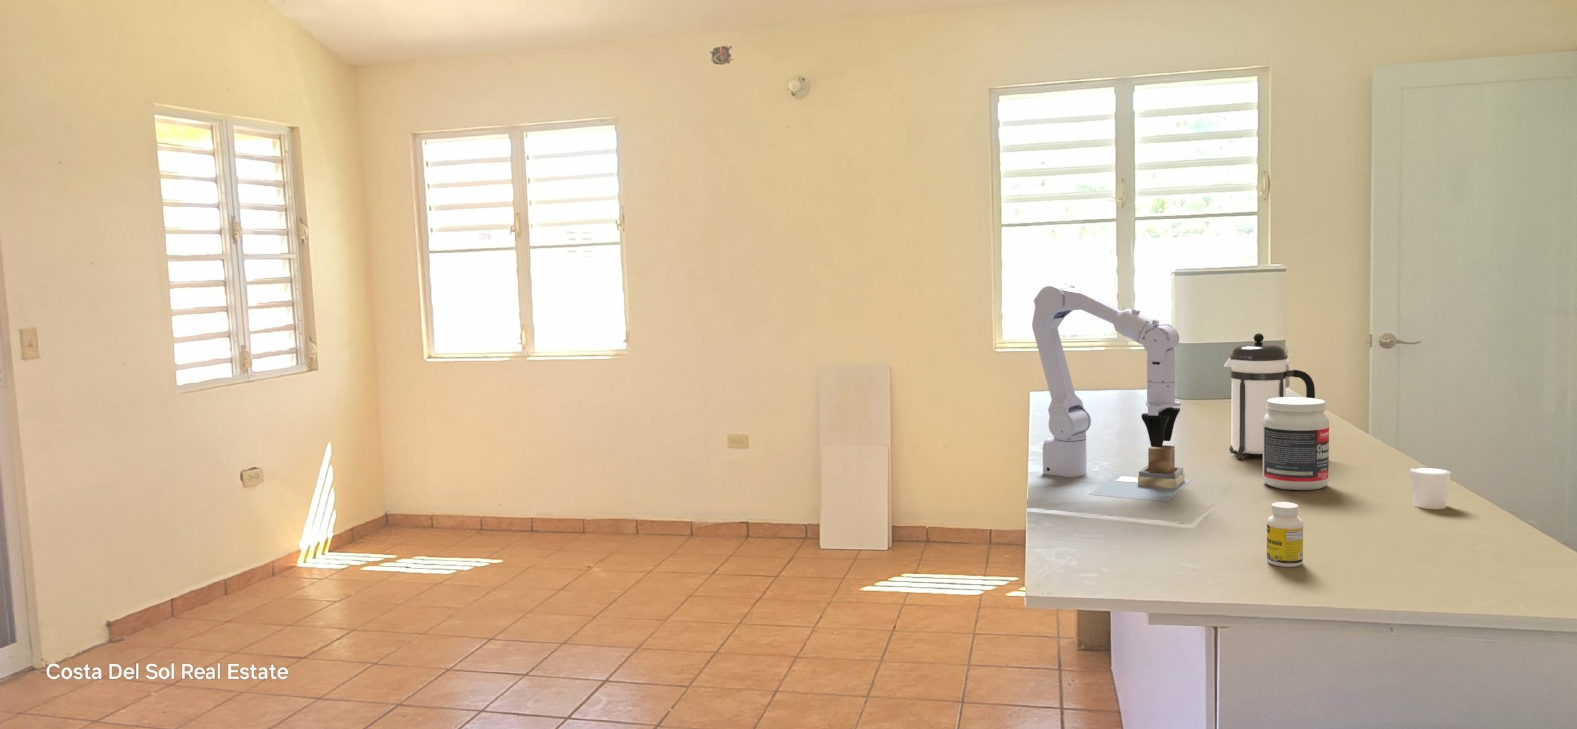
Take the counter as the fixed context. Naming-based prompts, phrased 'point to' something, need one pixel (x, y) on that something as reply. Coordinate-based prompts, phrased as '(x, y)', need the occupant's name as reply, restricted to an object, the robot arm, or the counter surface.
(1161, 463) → the walnut block
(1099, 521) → the counter surface
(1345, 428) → the counter surface
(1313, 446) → the supplement tub
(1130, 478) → the board
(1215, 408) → the counter surface
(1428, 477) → the white cup
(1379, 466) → the counter surface
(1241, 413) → the coffee press
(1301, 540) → the supplement bottle
